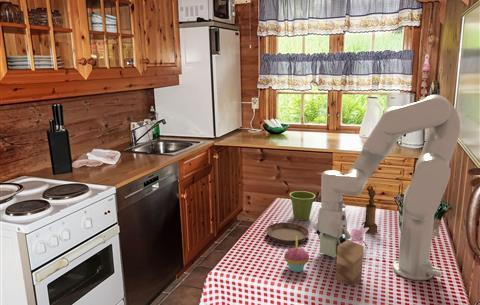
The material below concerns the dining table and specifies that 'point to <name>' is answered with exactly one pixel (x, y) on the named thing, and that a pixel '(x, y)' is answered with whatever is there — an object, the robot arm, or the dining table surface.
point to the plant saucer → (287, 232)
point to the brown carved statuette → (370, 214)
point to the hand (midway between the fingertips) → (331, 250)
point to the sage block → (328, 245)
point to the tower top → (350, 254)
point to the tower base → (348, 274)
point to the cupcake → (296, 258)
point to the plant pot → (302, 204)
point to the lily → (358, 235)
